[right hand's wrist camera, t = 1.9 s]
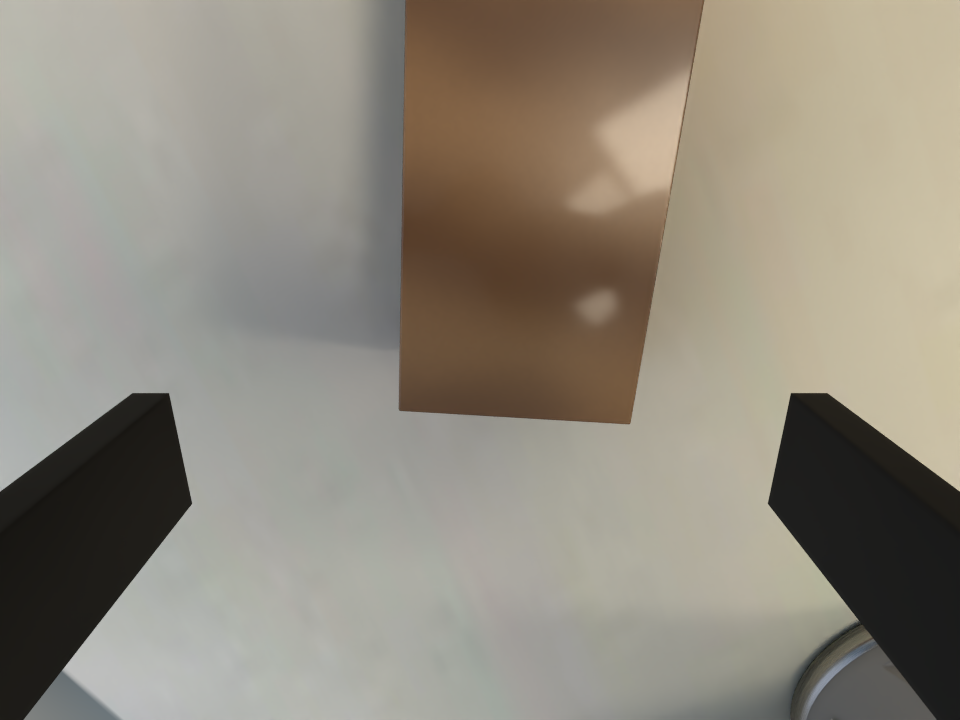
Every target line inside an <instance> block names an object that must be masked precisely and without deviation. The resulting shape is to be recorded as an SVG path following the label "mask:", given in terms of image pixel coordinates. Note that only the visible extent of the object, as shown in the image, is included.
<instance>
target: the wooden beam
mask: <svg viewBox="0 0 960 720" xmlns="http://www.w3.org/2000/svg"><path fill="white" fill-rule="evenodd" d="M703 4H704V0H406V1H405V62H404V123H403V183H402V244H401V304H400V365H399V410H400V411H412V412H429V413H446V414H463V415H480V416H497V417H514V418H531V419H548V420H565V421H582V422H599V423H617V424H630V423H631V417H632V411H633V405H634V400H635V394H636V388H637V382H638V377H639V371H640V365H641V360H642V354H643V348H644V342H645V337H646V331H647V325H648V319H649V314H650V308H651V302H652V296H653V291H654V285H655V279H656V274H657V268H658V262H659V256H660V251H661V245H662V239H663V233H664V228H665V222H666V216H667V211H668V205H669V199H670V193H671V188H672V182H673V176H674V170H675V165H676V159H677V153H678V148H679V142H680V136H681V130H682V125H683V119H684V113H685V107H686V102H687V96H688V90H689V84H690V79H691V73H692V67H693V62H694V56H695V50H696V44H697V39H698V33H699V27H700V21H701V16H702V10H703Z"/></svg>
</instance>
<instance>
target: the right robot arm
mask: <svg viewBox="0 0 960 720" xmlns="http://www.w3.org/2000/svg"><path fill="white" fill-rule="evenodd" d="M191 504H192V501H191V496H190V492H189V487H188V482H187V477H186V472H185V468H184V463H183V458H182V453H181V449H180V444H179V439H178V434H177V429H176V425H175V420H174V415H173V410H172V406H171V401H170V396H169V393H132V394H131V395H130V396H128V397H127V398H126V399H124V400H123V401H122V402H120V403H119V404H118V405H116V406H115V407H114V408H112V409H111V410H109V411H108V412H107V413H105V414H104V415H103V416H101V417H100V418H99V419H97V420H96V421H95V422H93V423H92V424H91V425H89V426H88V427H87V428H85V429H84V430H83V431H81V432H80V433H79V434H77V435H76V436H75V437H73V438H72V439H70V440H69V441H68V442H66V443H65V444H64V445H62V446H61V447H60V448H58V449H57V450H56V451H54V452H53V453H52V454H50V455H49V456H48V457H46V458H45V459H44V460H42V461H41V462H40V463H38V464H37V465H36V466H34V467H33V468H31V469H30V470H29V471H27V472H26V473H25V474H23V475H22V476H21V477H19V478H18V479H17V480H15V481H14V482H13V483H11V484H10V485H9V486H7V487H6V488H5V489H3V490H2V491H1V492H0V720H24V718H25V717H26V716H27V714H28V713H29V712H30V711H31V709H32V708H33V707H34V705H35V704H36V703H37V702H38V700H39V699H40V698H41V696H42V695H43V694H44V693H45V691H46V690H47V689H48V688H49V686H50V685H51V684H52V682H53V681H54V680H55V679H56V677H57V676H58V675H59V673H60V672H61V671H62V670H63V668H64V667H65V666H66V664H67V663H68V662H69V661H70V659H71V658H72V657H73V656H74V654H75V653H76V652H77V650H78V649H79V648H80V647H81V645H82V644H83V643H84V641H85V640H86V639H87V638H88V636H89V635H90V634H91V632H92V631H93V630H94V629H95V627H96V626H97V625H98V624H99V622H100V621H101V620H102V618H103V617H104V616H105V615H106V613H107V612H108V611H109V609H110V608H111V607H112V606H113V604H114V603H115V602H116V600H117V599H118V598H119V597H120V595H121V594H122V593H123V591H124V590H125V589H126V588H127V586H128V585H129V584H130V583H131V581H132V580H133V579H134V577H135V576H136V575H137V574H138V572H139V571H140V570H141V568H142V567H143V566H144V565H145V563H146V562H147V561H148V559H149V558H150V557H151V556H152V554H153V553H154V552H155V551H156V549H157V548H158V547H159V545H160V544H161V543H162V542H163V540H164V539H165V538H166V536H167V535H168V534H169V533H170V531H171V530H172V529H173V527H174V526H175V525H176V524H177V522H178V521H179V520H180V519H181V517H182V516H183V515H184V513H185V512H186V511H187V510H188V508H189V507H190V506H191ZM768 504H769V506H770V507H771V508H772V510H773V511H774V512H775V513H776V515H777V516H778V517H779V519H780V520H781V521H782V522H783V524H784V525H785V526H786V527H787V529H788V530H789V531H790V533H791V534H792V535H793V536H794V538H795V539H796V540H797V542H798V543H799V544H800V545H801V547H802V548H803V549H804V551H805V552H806V553H807V554H808V556H809V557H810V558H811V559H812V561H813V562H814V563H815V565H816V566H817V567H818V568H819V570H820V571H821V572H822V574H823V575H824V576H825V577H826V579H827V580H828V581H829V583H830V584H831V585H832V586H833V588H834V589H835V590H836V591H837V593H838V594H839V595H840V597H841V598H842V599H843V600H844V602H845V603H846V604H847V606H848V607H849V608H850V609H851V611H852V612H853V613H854V615H855V616H856V617H857V618H858V620H859V621H860V622H861V624H862V625H860V626H858V627H856V628H854V629H853V630H851V631H849V632H848V633H846V634H844V635H843V636H841V637H840V638H839V639H837V640H836V641H834V642H833V643H832V644H831V645H829V646H828V647H827V648H826V649H825V650H824V651H823V652H822V653H821V654H819V655H818V656H817V657H816V659H815V660H814V661H813V662H812V663H811V664H810V666H809V667H808V668H807V670H806V671H805V672H804V674H803V676H802V677H801V679H800V681H799V683H798V685H797V687H796V690H795V692H794V696H793V699H792V704H791V720H960V492H959V491H958V490H957V489H955V488H954V487H953V486H951V485H950V484H949V483H947V482H946V481H945V480H943V479H942V478H941V477H939V476H938V475H937V474H935V473H934V472H933V471H931V470H930V469H929V468H927V467H926V466H924V465H923V464H922V463H920V462H919V461H918V460H916V459H915V458H914V457H912V456H911V455H910V454H908V453H907V452H906V451H904V450H903V449H902V448H900V447H899V446H898V445H896V444H895V443H894V442H892V441H891V440H890V439H888V438H887V437H885V436H884V435H883V434H881V433H880V432H879V431H877V430H876V429H875V428H873V427H872V426H871V425H869V424H868V423H867V422H865V421H864V420H863V419H861V418H860V417H859V416H857V415H856V414H855V413H853V412H852V411H851V410H849V409H848V408H846V407H845V406H844V405H842V404H841V403H840V402H838V401H837V400H836V399H834V398H833V397H832V396H830V395H829V394H828V393H791V396H790V401H789V406H788V410H787V415H786V420H785V425H784V429H783V434H782V439H781V444H780V449H779V453H778V458H777V463H776V468H775V472H774V477H773V482H772V487H771V492H770V496H769V501H768Z"/></svg>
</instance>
